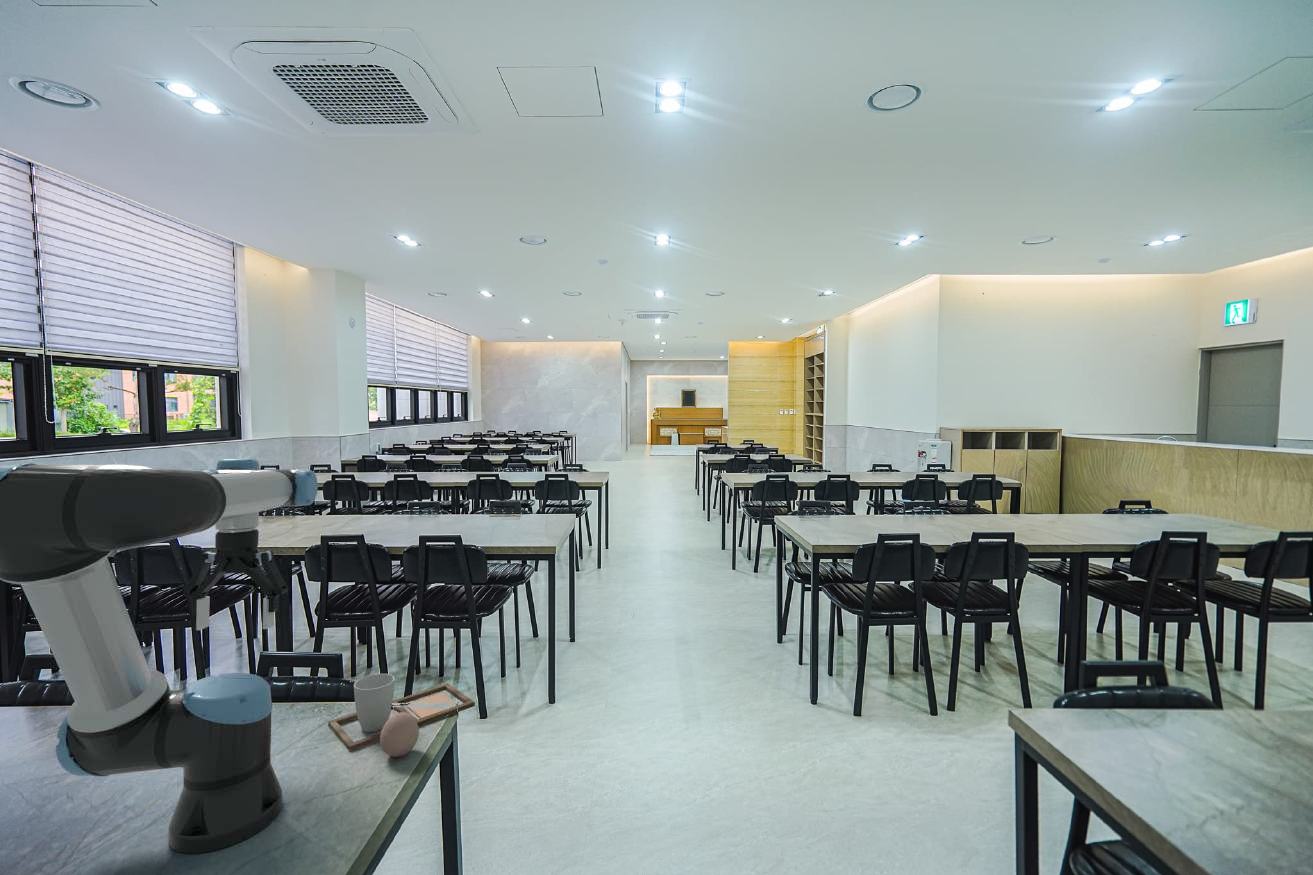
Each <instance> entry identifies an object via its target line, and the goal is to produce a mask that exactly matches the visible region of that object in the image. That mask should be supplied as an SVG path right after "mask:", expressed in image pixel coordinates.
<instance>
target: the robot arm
mask: <svg viewBox="0 0 1313 875" xmlns="http://www.w3.org/2000/svg"><path fill="white" fill-rule="evenodd" d="M215 468H216V469H172V468H164V467H163V468H161V467H153V466H145V465H136V464H135V465H134V464H122V463H121V464H120V463H119V464H113V463H112V464H37V463H33V462H32V463H31V462H27V463H22V464H11V465H0V580H1V581H2V582H5V583H9V584H13V585H14V584H16V585H20V586H21V587H22V591H23V592H24V595H25V596H26V598H27V601H28V602H29V605H30V608H31V609H32V611H33V614H34V615H35V618H36V620H37V622H38V624H39V627H40V629H41V632H42V633H43V635H44V638H45V639H46V641H47V644H48V646H49V648H50V650H51V652H52V655H53V657H54V659H55V661H56V664H57V666H58V668H59V670H60V672H61V674H62V677H63V679H64V681H65V683H66V685H67V687H68V689H69V691H70V694H71V696H72V699H73V700H74V702H73V703H72V705H71V706H70V708H69V709H68V712H67V714H66V715H65V717H64V718H63V720H62V722H61V723H60V726H59V728H58V732H57V735H56V739H58V740H59V742H58V743H56V745H55V755H56V758H57V761H58V763H59V765H60V766H61V767H62V768H63V770H64V771H66V772H67V773H69V774H71V775H74V776H77V777H91V776H92V777H109V776H112V775H120V774H127V773H128V774H130V773H139V772H146V771H147V772H148V771H155V770H156V771H157V770H167V769H175V768H177V769H178V768H183V782H182V784H183V788H182V790H181V793H180V796H179V798H178V801H177V803H176V806H175V808H174V811H173V814H172V816H171V819H170V821H169V824H168V825H169V826H168V845H169V847H170V848H171V849H172V850H174V851H175V852H177V853H183V854H201V853H208V852H212V851H214V852H215V851H217V850H221V849H224V848H227V847H231V846H232V845H236V844H238V843H240V842H242V841H244V840H246V839H248V838H250V837H253V836H254V835H256V834H257V833H259V832H260V831H262V830H263V829H265V828H266V827H267V826H269V825H270V824H271V823H272V822H273V821H275V819H276V818H277V817H278V815H279V814H280V812H281V811H282V807H283V789H282V786H281V785H280V782H279V779H278V777H277V774H276V772H275V770H274V768H273V765H272V763H271V762H272V761H271V758H272V757H271V753H272V752H271V751H272V750H271V747H272V744H271V743H272V711H273V702H272V695H271V686H270V684H269V682H267V680H265V679H264V678H263V677H262V676H260V675H256V674H252V673H246V672H244V673H243V672H229V673H228V672H226V673H219V675H210V676H206V677H203V678H201V679H197V680H196V681H193V682H191V684H189V685H188V686H187V688H186V689H179V690H178V689H177V690H172V689H171V688H170V685H169V683H168V681H167V677H166V676H165V674H164V673H162V672H161V671H159V670H155V669H150V668H149V666H148V663H147V661H146V658H145V656H144V653H143V649H142V647H141V645H140V641H139V639H138V637H137V634H136V631H135V627H134V625H133V623H132V620H131V617H130V614H129V612H128V610H127V607H126V604H125V602H124V599H123V596H122V593H121V591H120V589H119V585H118V583H117V580H116V578H115V574H114V572H113V569H112V566H111V563H110V562H109V558H108V557H109V556H111V554H112V553H113V552H115V551H124V550H130V549H137V548H142V547H145V546H146V547H147V546H151V545H155V544H159V543H164V542H167V541H171V540H174V539H179V538H183V537H185V536H190V535H192V534H193V535H194V534H197V533H201V532H204V531H206V530H209V529H210V528H212V527H214V526H215V530H218V531H216V533H215V543H214V544H215V549H216V552H214V551H212V550H209V551H205V552H202V553H200V554H199V560H198V564H197V566H196V568H195V569H194V571H193V574H192V575H191V577H190V579H189V581H188V582H187V584H186V586H185V588H184V590H183V592H182V595H183V596H184V597H190V598H191V599H192V608H193V610H192V612H193V614H194V615H195V614H196V624H195V626H196V627H195V630H196V631H201V630H205V629H206V628H208V627H210V601H211V600H210V599H211V598H210V597H211V596H208V593H209V591H211V590H212V589H213V587H214V586H215V585H216V584H217V583H218V582H219V580H220V579H221V578H222V577H223V576H224V575H225V574H232V573H234V574H243V573H244V574H245V575H246V576H248V577H249V578H251V580H252V581H253V582H254V583H255V584H256V586H257V587H258V588H259V589H260V590H261V591H262V592H263V594H265V596H266V597H264V598H263V599H262V600H263V603H262V607H263V608H262V610H263V611H262V630H267V629H269V628H271V627H273V626H275V612H277V611H278V610H279V596H281V595H283V594H285V593H287V592H288V591H289V587H288V585H287V583H286V581H285V580H284V577H283V575H282V574H281V572H280V569H279V568H278V566H277V564H276V562H275V557H274V551H273V550H266V551H264V552H259V551H258V547H259V530H258V528H257V527H259V522H260V521H259V520H260V519H259V518H260V516H259V515H260V512H265V511H268V510H273V509H278V508H283V507H300V506H301V507H302V506H310V505H312V504H313V503H314V502H315V500H316V499H317V495H318V491H319V490H318V488H319V487H318V486H319V485H318V484H319V483H318V478H317V475H316V474H315V472H314V471H313V470H310V469H299V468H295V469H260V463H259V461H258V460H257V459H254V458H224V459H219V460H218V461H217V463H216V467H215ZM257 561H258V562H259V563H260V564H261V565H262V567H261V566H260V564H258V562H257ZM213 562H216V563H217V565H216V566H215V567H214V569H212V571H211V574H209V575H208V576H207V577H206V575H207V573H208V572H209V571H210V568H211V567H212V565H213ZM261 568H262V569H263V570H264V572H263V571H262V569H261ZM205 578H206V579H205Z"/></svg>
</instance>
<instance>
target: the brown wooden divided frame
mask: <svg viewBox="0 0 1313 875" xmlns="http://www.w3.org/2000/svg"><path fill="white" fill-rule="evenodd" d="M443 691H446V692H448V693H449V694H450V695H452V696H453V697H454V698H456V699H457V700H459V701H460V702H461V704H458V712H457V708H456V707H452V708H449V709H446V710H443V711H441V712H438V713H435V714H432V715H429V716H426V717H424V718H421V719H420V718H416V717H415V716H414V715H413V714H412V713H411V712H410V711H408V710H407V708H405V707H403V706H402V704H401V705H392V706H402V707H394V708H392V709H393V710H394V711H395V712H396V711H397V712H398V713H401V712H405V713H408V714H410V715H411V716H412V717H413V718H414V719H415V721H416V722H417V725H418V727H422V726H425V725H427V724H430V723H431V722H435V721H437V720H441V719H443V718H446V717H448V716H447V715H449V716H451V715H455V714H457V713H459V712H462V711H465V710H468V709H471V708H474V707H475V705H476V702H475V701H474V700H473V699H471V698H470V697H468V696H467V695H465V694H464V693H462V692H461V691H459V690H458V689H457V688H455V687H454V686H452V685H451V684H449V683H444V684H440V685H438V686H435V687H432V688H429V689H428V688H427V689H425V690H422V691H420V692H415V693H413V694H409V695H406V696H405V697H401V698H397V699H395V700H394V699H393V701H392V703H404V704H408V703H411V702H414V701H417V700H420V699H421V698H422V699H423V698H426V697H430V696H433V695H436V694H439V693H442V692H443ZM397 712H396V713H397ZM445 716H446V717H445ZM356 720H358V717H357V711H356V712H353V713H350V714H346V715H343V716H341V717H337V718H334V719H331V720H328V721H327V724H328V727H329V728H330V729H332V730H331V731H332V732H333V733H334V734H335V736H336V737H337V738H338V740H339V741H341V743H342V744H343V745H344V747H345V748H346V749H347V750H348V751H349V752H352V751H355V750H357V749H360V748H364V747H366V746H368V745H371V744H373V743H374V744H375V743H377V742H380V735H381V732H378V733H376V734H373V735H370V736H368V737H365V738H362V739H359V740H356V741H354V740H353V739H352V738H351V737H350V735H348V734H347V732H346V731H345V730H344V729H343V727H342V726H341V725H343V724H345V723H349V722H352V721H356Z"/></svg>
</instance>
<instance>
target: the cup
mask: <svg viewBox="0 0 1313 875" xmlns="http://www.w3.org/2000/svg"><path fill="white" fill-rule="evenodd" d="M394 688H395V676H394V675H392V674H390V673H376V674H370V675H366V676H364V677H362V678H360V679H358V680H356V681H355V682H354V683H353V692H354V705H355V710H356V712H357V717H358V719H357V720H358V723H359V725H360V728H361V730H362V731H363V732H367V733H368V732H369V733H370V732H371V733H372V731H373V732H377V731H379V729H380V730H382V729H383V727H384V725H385V723H386V722H387V721H388V719H389V718H390V715H391V711H392V708H391V707H392V701H394V691H395V690H394Z"/></svg>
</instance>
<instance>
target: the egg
mask: <svg viewBox="0 0 1313 875" xmlns="http://www.w3.org/2000/svg"><path fill="white" fill-rule="evenodd" d="M419 732H420V731H419V726H418V725H417V722H416V721H415V719H414V718H413V717H412V716H411V715H410V714H408V713H405V712H401V713H397V712H396V713H394V714H393V715H392V716H390V717H389V718H388V721H387V722H386V723H385V725H384V727H383V728H382V729H381V731H380V733H381V735H380V741H379V743H380V748H381V750H382V751H383V752H384V753H385V754H386V755H387V756H389V757H392V758H399V757H402V756H405V755H407V754H408V753H410V752H411V751H412V750H413V748H414V747H415V746H416V744H417V742H418V739H419V735H420V733H419Z"/></svg>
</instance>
